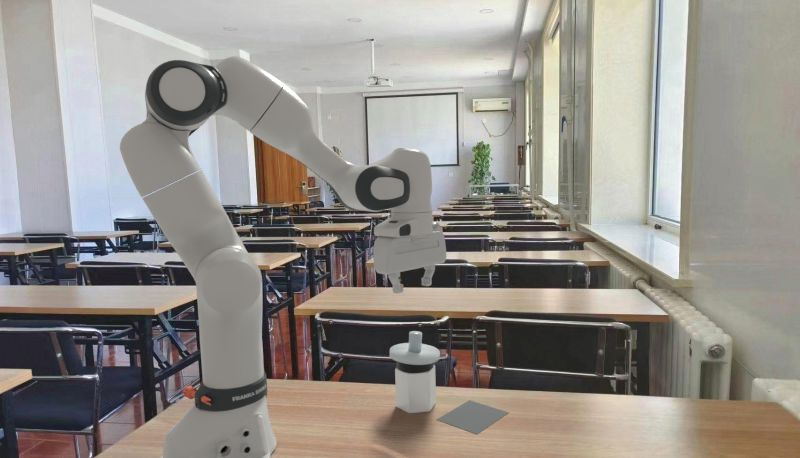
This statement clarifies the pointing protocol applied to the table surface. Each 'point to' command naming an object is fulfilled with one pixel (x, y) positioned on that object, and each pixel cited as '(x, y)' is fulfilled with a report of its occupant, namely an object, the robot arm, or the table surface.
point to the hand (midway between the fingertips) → (412, 289)
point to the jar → (415, 387)
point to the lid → (414, 351)
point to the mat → (472, 416)
